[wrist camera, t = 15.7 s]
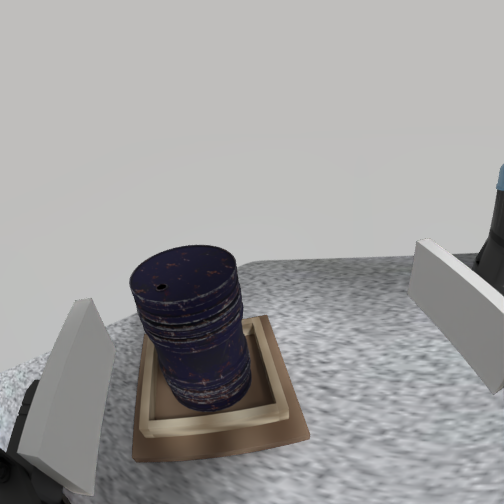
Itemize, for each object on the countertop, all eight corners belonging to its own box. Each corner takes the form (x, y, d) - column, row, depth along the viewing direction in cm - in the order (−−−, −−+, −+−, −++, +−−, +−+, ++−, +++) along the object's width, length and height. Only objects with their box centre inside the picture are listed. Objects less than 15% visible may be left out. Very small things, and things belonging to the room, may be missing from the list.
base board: (267, 321, 43) (266, 303, 42) (309, 439, 25) (311, 424, 24) (146, 339, 41) (140, 323, 40) (136, 462, 23) (123, 449, 22)
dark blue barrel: (197, 341, 39) (172, 239, 32) (266, 361, 35) (256, 250, 28) (154, 394, 31) (106, 288, 24) (228, 425, 27) (197, 316, 20)
